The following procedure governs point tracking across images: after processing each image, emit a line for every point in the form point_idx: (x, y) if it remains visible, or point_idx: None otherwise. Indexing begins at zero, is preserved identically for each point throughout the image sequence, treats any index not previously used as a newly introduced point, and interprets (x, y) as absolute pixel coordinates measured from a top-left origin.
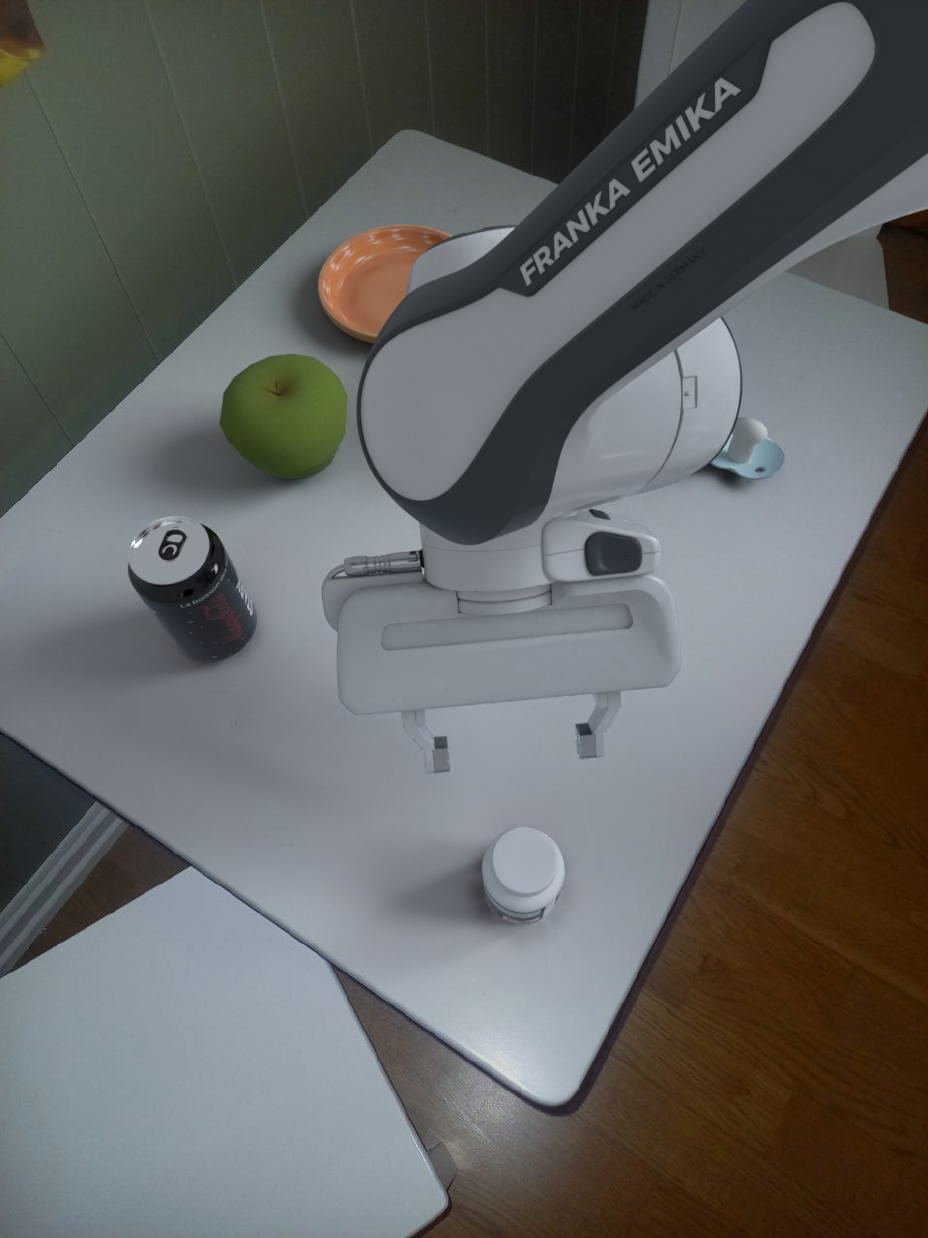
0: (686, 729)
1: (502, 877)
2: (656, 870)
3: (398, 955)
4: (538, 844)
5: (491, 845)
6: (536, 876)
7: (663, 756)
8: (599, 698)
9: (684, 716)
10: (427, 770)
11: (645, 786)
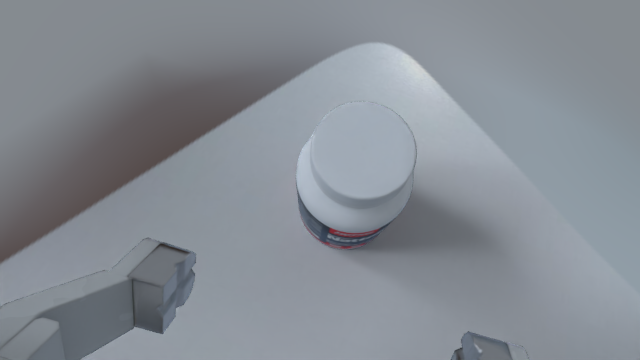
0: None
1: (406, 136)
2: (192, 168)
3: (495, 187)
4: (334, 160)
5: (390, 215)
6: (355, 118)
7: None
8: (32, 348)
9: None
10: (524, 350)
11: None
